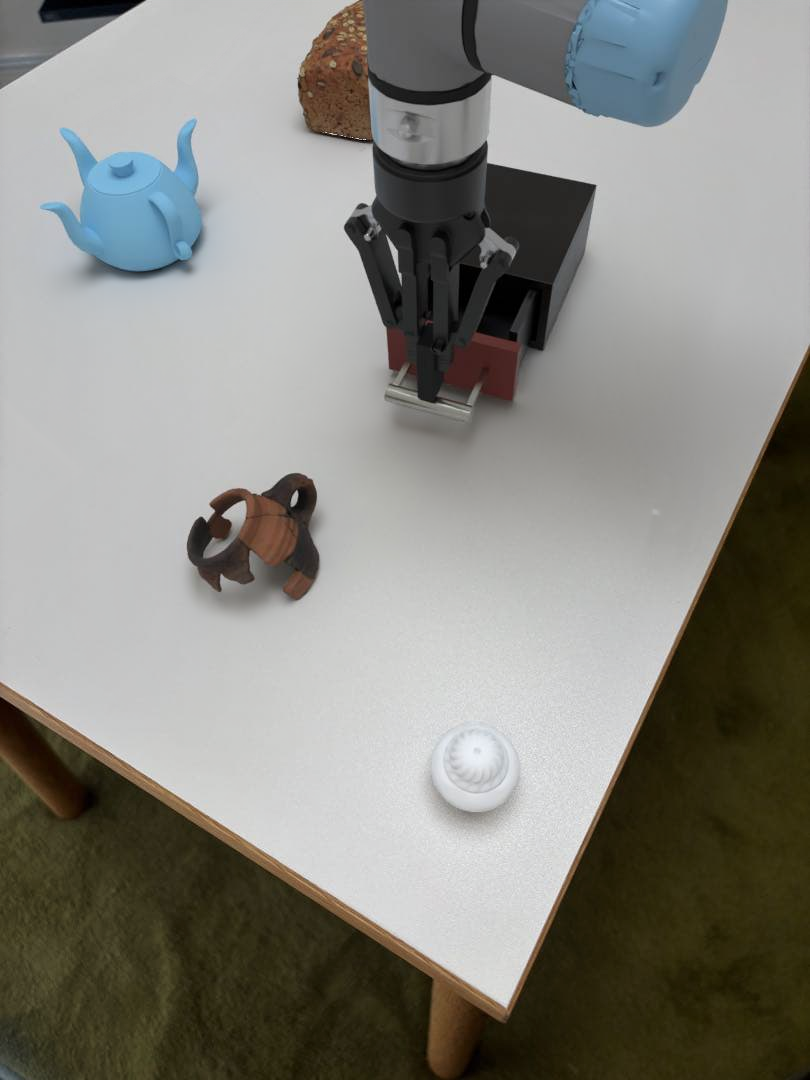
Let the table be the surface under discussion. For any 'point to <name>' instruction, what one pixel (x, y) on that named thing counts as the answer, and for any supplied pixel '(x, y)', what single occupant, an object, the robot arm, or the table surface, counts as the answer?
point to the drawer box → (538, 234)
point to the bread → (338, 77)
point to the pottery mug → (260, 535)
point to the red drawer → (474, 349)
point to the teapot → (134, 206)
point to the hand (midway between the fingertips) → (430, 389)
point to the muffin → (475, 767)
